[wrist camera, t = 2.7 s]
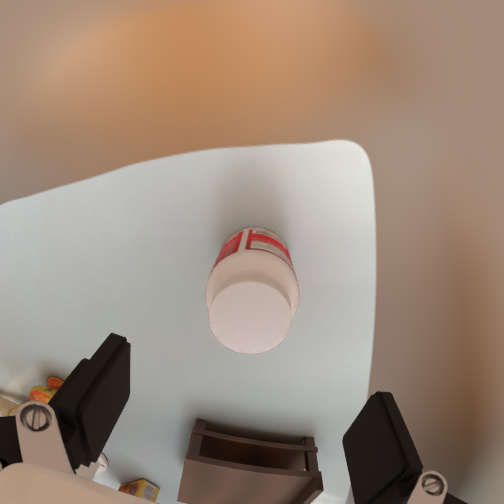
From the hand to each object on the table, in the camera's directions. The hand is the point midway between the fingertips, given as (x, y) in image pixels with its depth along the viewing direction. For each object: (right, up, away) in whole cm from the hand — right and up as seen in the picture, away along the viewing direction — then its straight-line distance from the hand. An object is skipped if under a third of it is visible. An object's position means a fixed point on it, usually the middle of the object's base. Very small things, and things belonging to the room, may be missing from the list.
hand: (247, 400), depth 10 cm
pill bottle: (0, +5, +17) cm, 18 cm away
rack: (-1, -24, +25) cm, 35 cm away
